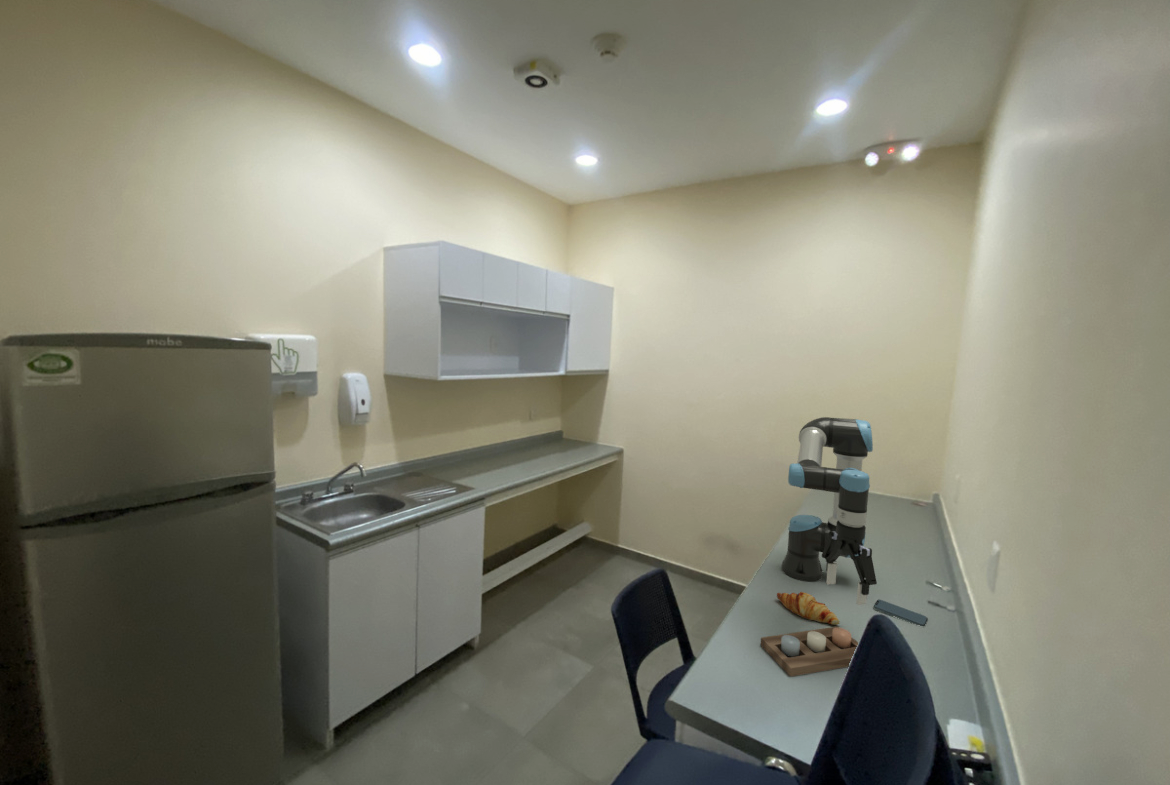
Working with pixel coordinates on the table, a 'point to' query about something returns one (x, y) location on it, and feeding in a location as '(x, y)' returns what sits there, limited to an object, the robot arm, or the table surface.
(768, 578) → the table surface
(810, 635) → the cream button
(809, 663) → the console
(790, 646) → the slate button
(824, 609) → the croissant
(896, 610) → the smartphone
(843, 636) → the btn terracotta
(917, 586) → the table surface
